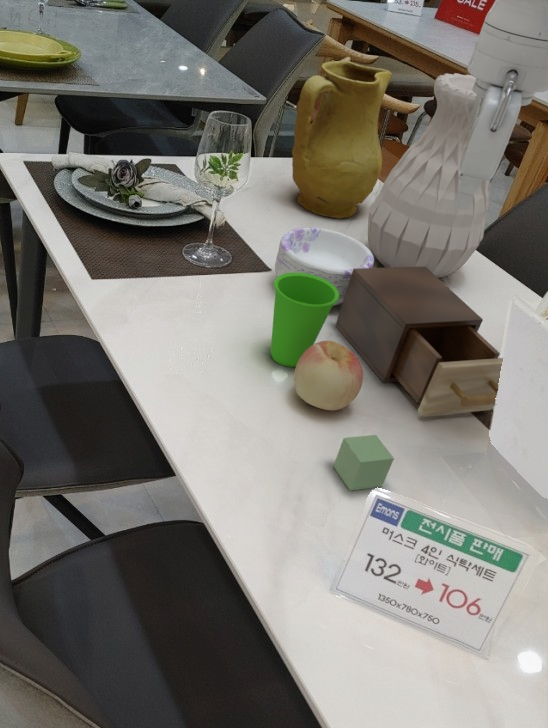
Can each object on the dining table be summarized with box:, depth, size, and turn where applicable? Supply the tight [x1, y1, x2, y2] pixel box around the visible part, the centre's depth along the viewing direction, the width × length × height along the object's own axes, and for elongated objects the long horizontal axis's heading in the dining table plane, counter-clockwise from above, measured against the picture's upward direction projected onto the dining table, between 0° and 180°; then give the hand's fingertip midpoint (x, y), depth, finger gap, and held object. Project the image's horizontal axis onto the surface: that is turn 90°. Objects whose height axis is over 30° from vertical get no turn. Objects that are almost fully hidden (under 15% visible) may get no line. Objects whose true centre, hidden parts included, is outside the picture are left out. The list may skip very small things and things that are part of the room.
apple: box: [293, 340, 364, 411], centre depth 101 cm, size 9×9×8 cm
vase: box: [367, 72, 492, 279], centre depth 129 cm, size 20×20×30 cm
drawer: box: [391, 325, 504, 417], centre depth 105 cm, size 19×11×8 cm, turn 17°
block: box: [333, 434, 395, 492], centre depth 92 cm, size 4×4×4 cm
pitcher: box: [291, 60, 393, 220], centre depth 147 cm, size 17×19×25 cm
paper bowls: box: [274, 226, 375, 307], centre depth 124 cm, size 15×15×8 cm
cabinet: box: [335, 267, 484, 384], centre depth 113 cm, size 16×13×10 cm
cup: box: [270, 273, 339, 368], centre depth 108 cm, size 9×9×11 cm
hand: (462, 193), depth 90 cm, fingers open, 8 cm apart
